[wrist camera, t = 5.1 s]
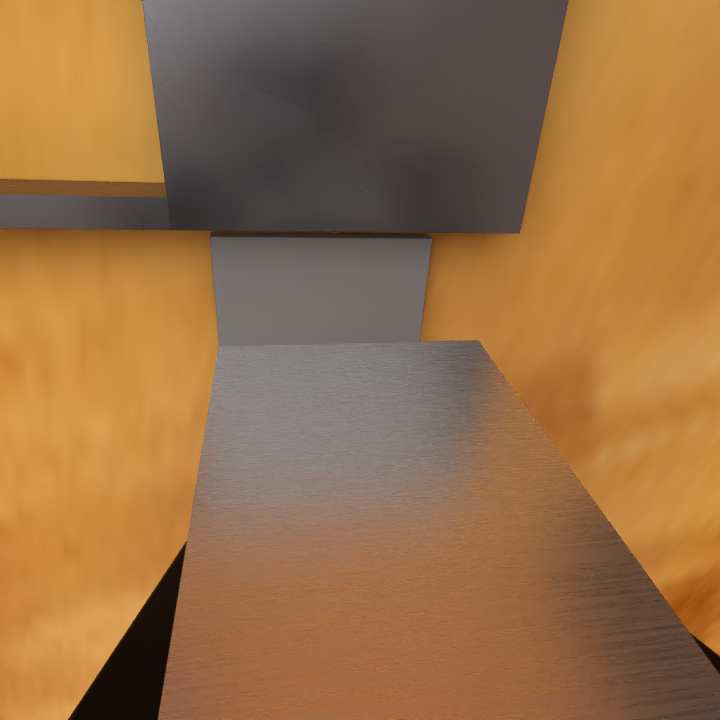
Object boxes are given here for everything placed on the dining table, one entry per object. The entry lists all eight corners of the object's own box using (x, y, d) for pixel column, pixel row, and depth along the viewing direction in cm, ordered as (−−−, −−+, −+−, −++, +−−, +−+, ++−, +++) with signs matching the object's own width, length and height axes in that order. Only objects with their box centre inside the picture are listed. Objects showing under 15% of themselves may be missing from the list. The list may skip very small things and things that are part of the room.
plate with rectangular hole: (569, -163, 11) (608, -190, 10) (498, 218, 15) (519, 233, 14) (-499, -313, 8) (-639, -379, 7) (-237, 206, 12) (-296, 224, 11)
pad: (428, 234, 15) (432, 239, 15) (407, 407, 18) (410, 414, 18) (211, 232, 14) (209, 237, 14) (227, 415, 17) (226, 422, 17)
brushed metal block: (478, 340, 10) (758, 728, 4) (444, 519, 13) (594, 921, 7) (218, 346, 10) (140, 826, 4) (236, 536, 12) (206, 1004, 6)
